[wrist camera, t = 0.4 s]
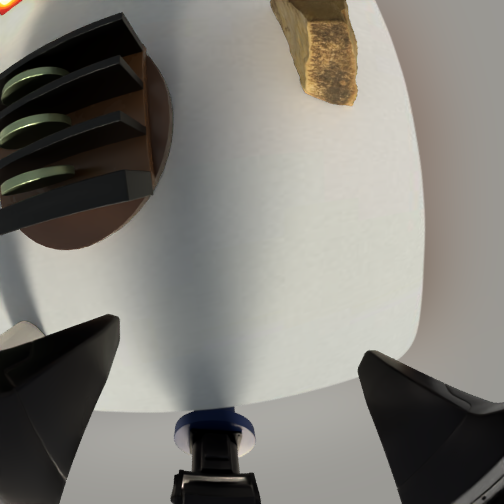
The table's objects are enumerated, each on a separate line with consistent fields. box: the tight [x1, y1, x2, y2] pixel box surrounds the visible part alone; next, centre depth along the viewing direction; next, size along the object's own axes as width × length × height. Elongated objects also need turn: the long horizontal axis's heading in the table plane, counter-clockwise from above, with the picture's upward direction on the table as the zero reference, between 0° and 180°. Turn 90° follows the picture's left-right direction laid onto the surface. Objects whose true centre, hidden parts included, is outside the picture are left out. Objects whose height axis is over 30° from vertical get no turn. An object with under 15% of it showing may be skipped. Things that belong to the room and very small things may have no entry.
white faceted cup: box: [0, 321, 45, 351], centre depth 18 cm, size 7×7×7 cm
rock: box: [270, 0, 358, 106], centre depth 14 cm, size 11×9×10 cm
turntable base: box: [20, 55, 173, 250], centre depth 16 cm, size 18×18×2 cm
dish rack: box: [0, 12, 156, 235], centre depth 12 cm, size 12×15×7 cm
